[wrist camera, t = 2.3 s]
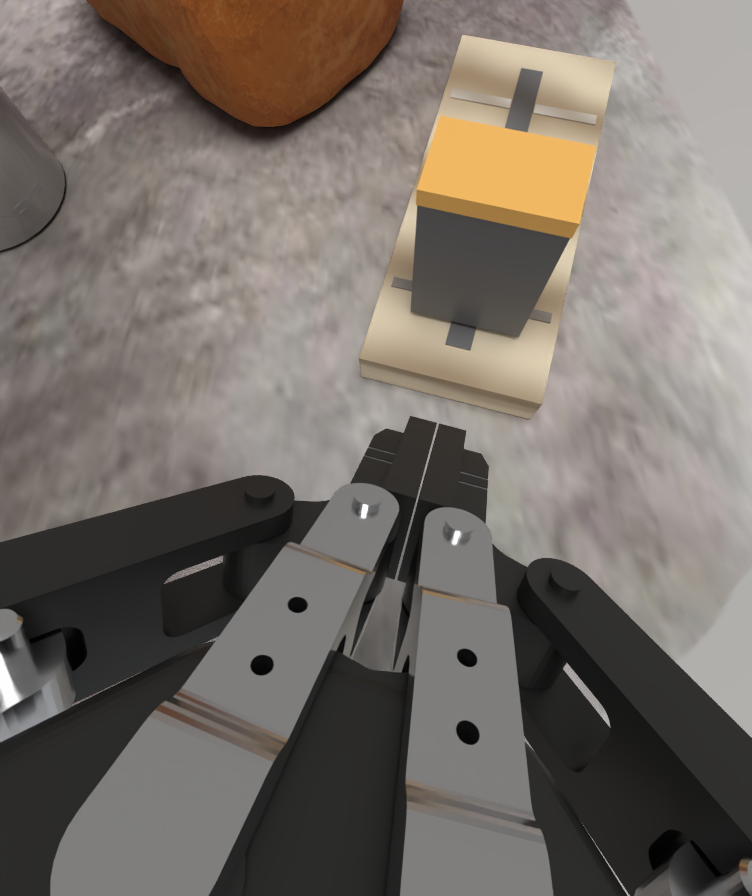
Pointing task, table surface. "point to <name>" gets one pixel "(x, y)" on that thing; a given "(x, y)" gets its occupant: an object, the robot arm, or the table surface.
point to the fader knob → (493, 221)
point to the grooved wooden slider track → (529, 356)
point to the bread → (260, 48)
